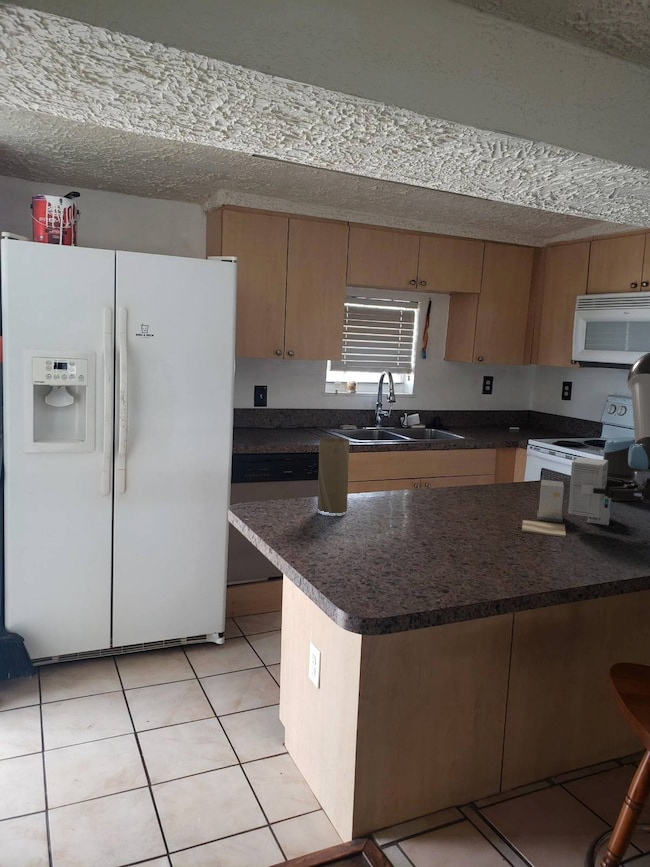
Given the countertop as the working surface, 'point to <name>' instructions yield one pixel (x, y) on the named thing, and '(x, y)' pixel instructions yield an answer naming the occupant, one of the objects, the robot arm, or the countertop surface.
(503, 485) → the countertop surface
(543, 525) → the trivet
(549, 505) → the unit
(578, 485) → the supplement box
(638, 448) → the robot arm
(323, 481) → the tube
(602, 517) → the light bulb box
